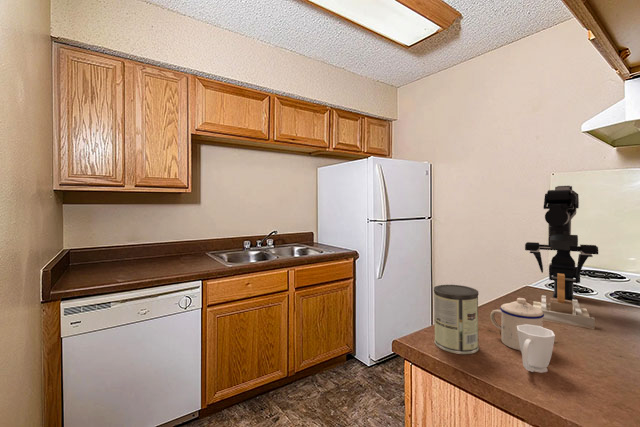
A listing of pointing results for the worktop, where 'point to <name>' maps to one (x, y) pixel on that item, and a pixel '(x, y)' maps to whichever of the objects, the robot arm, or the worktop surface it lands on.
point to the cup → (535, 347)
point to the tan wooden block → (561, 298)
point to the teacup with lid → (516, 320)
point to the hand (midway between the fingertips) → (559, 274)
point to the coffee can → (456, 318)
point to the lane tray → (566, 315)
